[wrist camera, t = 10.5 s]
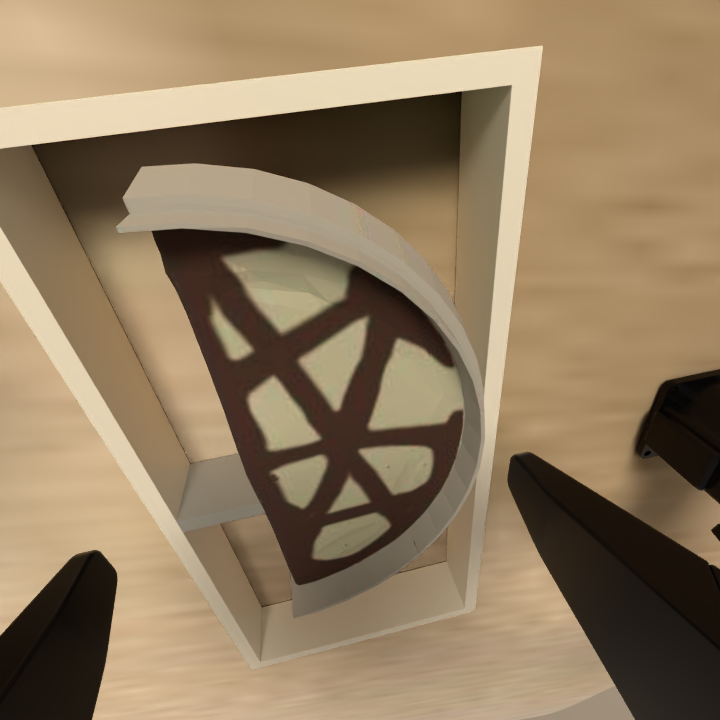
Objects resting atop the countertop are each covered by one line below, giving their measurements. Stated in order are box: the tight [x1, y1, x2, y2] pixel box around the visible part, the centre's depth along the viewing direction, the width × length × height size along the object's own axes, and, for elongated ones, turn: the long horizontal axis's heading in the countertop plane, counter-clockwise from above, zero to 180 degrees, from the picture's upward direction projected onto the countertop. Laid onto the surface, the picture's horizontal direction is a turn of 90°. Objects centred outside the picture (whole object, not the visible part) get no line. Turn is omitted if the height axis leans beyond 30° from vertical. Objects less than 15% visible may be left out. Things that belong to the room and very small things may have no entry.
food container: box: [116, 163, 485, 619], centre depth 13 cm, size 12×6×10 cm, turn 7°
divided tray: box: [0, 46, 543, 670], centre depth 20 cm, size 16×32×4 cm, turn 6°
